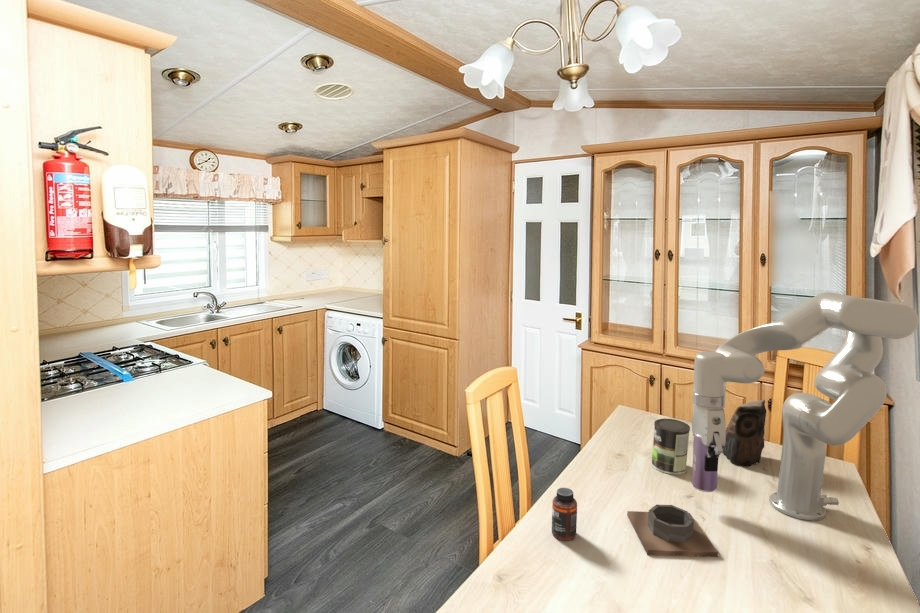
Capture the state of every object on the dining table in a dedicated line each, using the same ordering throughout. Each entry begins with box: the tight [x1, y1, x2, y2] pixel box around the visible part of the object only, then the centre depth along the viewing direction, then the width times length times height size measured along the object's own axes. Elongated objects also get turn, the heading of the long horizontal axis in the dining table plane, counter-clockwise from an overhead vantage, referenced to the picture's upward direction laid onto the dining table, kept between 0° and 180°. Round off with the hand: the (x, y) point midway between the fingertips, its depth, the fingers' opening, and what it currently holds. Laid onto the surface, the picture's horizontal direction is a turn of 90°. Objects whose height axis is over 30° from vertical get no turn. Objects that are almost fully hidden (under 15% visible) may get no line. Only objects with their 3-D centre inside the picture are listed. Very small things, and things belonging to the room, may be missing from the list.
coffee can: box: [650, 418, 691, 476], centre depth 158 cm, size 10×10×14 cm
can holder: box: [626, 504, 719, 558], centre depth 123 cm, size 16×16×5 cm
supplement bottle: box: [551, 487, 578, 541], centre depth 123 cm, size 6×6×11 cm
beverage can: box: [691, 432, 718, 493], centre depth 133 cm, size 6×6×15 cm
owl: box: [721, 399, 767, 468], centre depth 162 cm, size 13×13×20 cm
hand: (705, 464), depth 133 cm, fingers closed on beverage can, 5 cm apart
